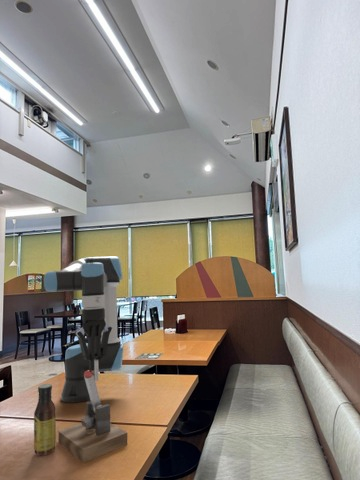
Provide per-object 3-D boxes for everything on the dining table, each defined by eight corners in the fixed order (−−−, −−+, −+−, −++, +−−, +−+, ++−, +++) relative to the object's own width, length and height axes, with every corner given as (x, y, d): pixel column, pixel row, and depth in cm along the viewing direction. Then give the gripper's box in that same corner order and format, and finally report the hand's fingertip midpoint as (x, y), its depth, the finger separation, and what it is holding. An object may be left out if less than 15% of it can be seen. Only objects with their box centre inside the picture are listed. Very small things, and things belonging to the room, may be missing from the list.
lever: (82, 425, 107) (69, 377, 106) (100, 413, 111) (88, 367, 110) (88, 429, 103) (75, 380, 102) (107, 416, 108) (94, 369, 107)
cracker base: (58, 442, 107) (58, 405, 109) (99, 427, 117) (99, 393, 119) (83, 463, 94) (83, 420, 96) (127, 444, 104) (126, 406, 106)
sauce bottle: (37, 447, 104) (38, 382, 107) (58, 446, 105) (58, 381, 108) (30, 458, 98) (31, 389, 101) (51, 456, 99) (52, 387, 101)
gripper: (81, 310, 105) (82, 387, 102) (115, 306, 113) (117, 377, 111) (70, 309, 110) (71, 382, 107) (104, 306, 119) (106, 373, 116)
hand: (95, 379), depth 109 cm, fingers closed
